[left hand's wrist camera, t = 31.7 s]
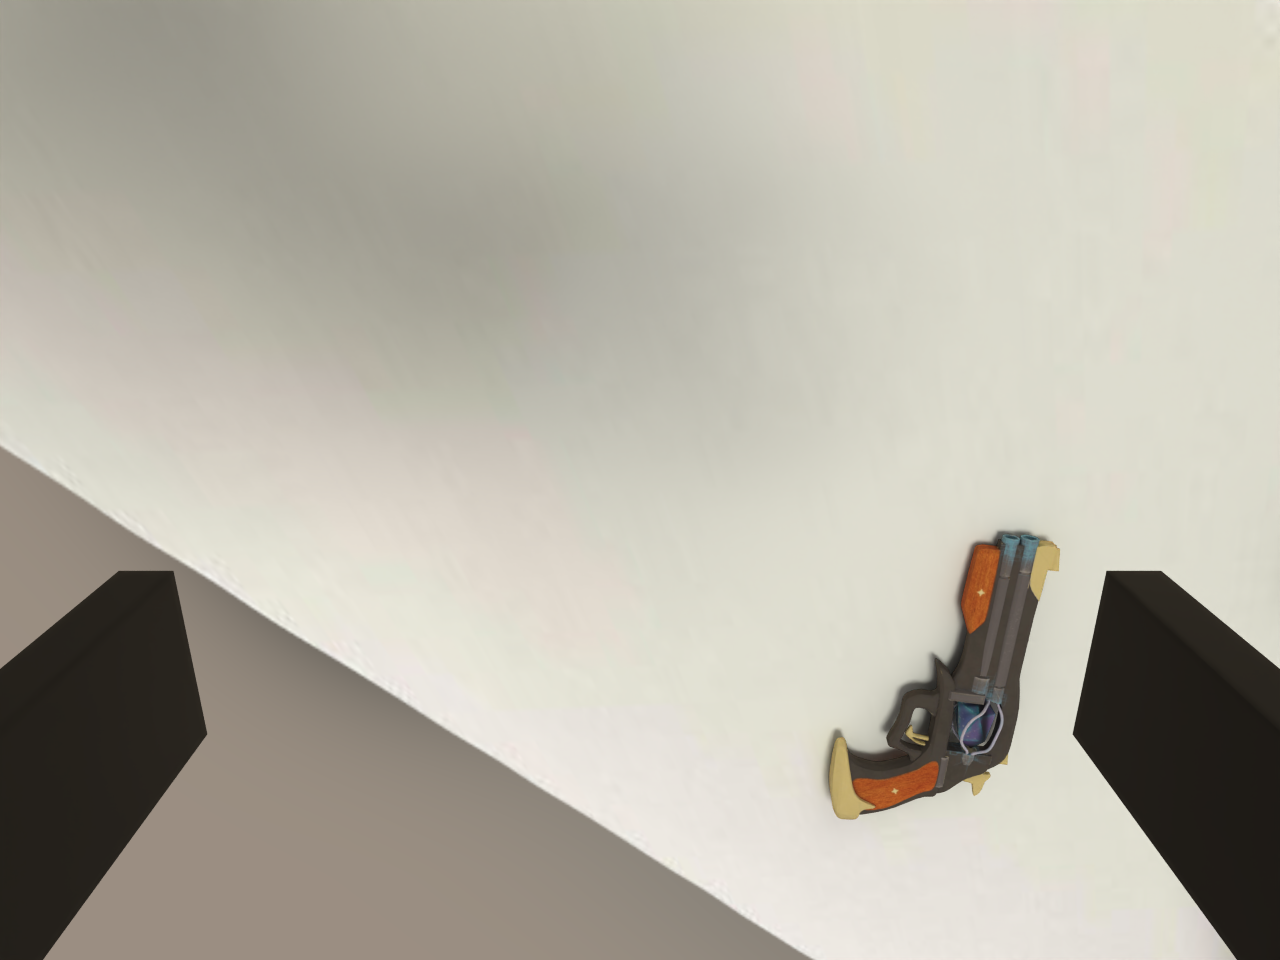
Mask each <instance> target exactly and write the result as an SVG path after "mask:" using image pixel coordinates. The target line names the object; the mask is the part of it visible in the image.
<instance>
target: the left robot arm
mask: <svg viewBox="0 0 1280 960" xmlns="http://www.w3.org/2000/svg"><path fill="white" fill-rule="evenodd" d="M206 735H207V731H206V726H205V721H204V716H203V711H202V707H201V702H200V697H199V692H198V687H197V682H196V678H195V673H194V668H193V663H192V658H191V653H190V649H189V644H188V639H187V634H186V629H185V625H184V620H183V615H182V610H181V605H180V600H179V596H178V591H177V586H176V581H175V576H174V572H173V571H118V572H117V573H116V574H115V575H113V576H112V577H111V578H110V579H109V580H107V581H106V582H105V583H104V584H103V585H101V586H100V587H99V588H98V589H96V590H95V591H94V592H93V593H92V594H90V595H89V596H88V597H87V598H86V599H84V600H83V601H82V602H81V603H80V604H78V605H77V606H76V607H75V608H74V609H72V610H71V611H70V612H69V613H67V614H66V615H65V616H64V617H63V618H61V619H60V620H59V621H58V622H57V623H55V624H54V625H53V626H52V627H50V628H49V629H48V630H47V631H46V632H45V633H43V634H42V635H41V636H40V637H38V638H37V639H36V640H35V641H34V642H32V643H31V644H30V645H29V646H27V647H26V648H25V649H24V650H23V651H21V652H20V653H19V654H18V655H17V656H15V657H14V658H13V659H12V660H11V661H9V662H8V663H7V664H6V665H4V666H3V667H2V668H1V669H0V960H43V959H44V958H45V956H46V955H47V953H48V952H49V951H50V949H51V948H52V947H53V945H54V944H55V942H56V941H57V940H58V938H59V937H60V936H61V934H62V933H63V931H64V930H65V929H66V927H67V926H68V925H69V923H70V922H71V920H72V919H73V918H74V916H75V915H76V914H77V912H78V911H79V909H80V908H81V907H82V905H83V904H84V903H85V901H86V900H87V899H88V897H89V896H90V894H91V893H92V892H93V890H94V889H95V888H96V886H97V885H98V883H99V882H100V881H101V879H102V878H103V876H104V875H105V874H106V872H107V871H108V870H109V868H110V867H111V866H112V864H113V863H114V862H115V860H116V859H117V857H118V856H119V855H120V853H121V852H122V851H123V849H124V848H125V846H126V845H127V844H128V842H129V841H130V840H131V838H132V837H133V835H134V834H135V833H136V831H137V830H138V829H139V827H140V826H141V824H142V823H143V822H144V820H145V819H146V818H147V816H148V815H149V813H150V812H151V811H152V809H153V808H154V807H155V805H156V804H157V802H158V801H159V800H160V798H161V797H162V796H163V794H164V793H165V792H166V790H167V789H168V787H169V786H170V785H171V783H172V782H173V780H174V779H175V778H176V776H177V775H178V774H179V772H180V771H181V770H182V768H183V767H184V765H185V764H186V763H187V761H188V760H189V759H190V757H191V756H192V754H193V753H194V752H195V750H196V749H197V748H198V746H199V745H200V744H201V742H202V741H203V739H204V738H205V737H206ZM1073 735H1074V737H1075V738H1076V739H1077V741H1078V742H1079V744H1080V745H1081V746H1082V748H1083V749H1084V750H1085V752H1086V753H1087V754H1088V756H1089V757H1090V759H1091V760H1092V761H1093V763H1094V764H1095V765H1096V767H1097V768H1098V770H1099V771H1100V772H1101V774H1102V775H1103V776H1104V778H1105V779H1106V781H1107V782H1108V783H1109V785H1110V786H1111V787H1112V789H1113V790H1114V792H1115V793H1116V794H1117V796H1118V797H1119V798H1120V800H1121V801H1122V803H1123V804H1124V805H1125V807H1126V808H1127V809H1128V811H1129V812H1130V813H1131V815H1132V816H1133V818H1134V819H1135V820H1136V822H1137V823H1138V824H1139V826H1140V827H1141V829H1142V830H1143V831H1144V833H1145V834H1146V835H1147V837H1148V838H1149V840H1150V841H1151V842H1152V844H1153V845H1154V846H1155V848H1156V849H1157V851H1158V852H1159V853H1160V855H1161V856H1162V857H1163V859H1164V860H1165V862H1166V863H1167V864H1168V866H1169V867H1170V868H1171V870H1172V871H1173V872H1174V874H1175V875H1176V877H1177V878H1178V879H1179V881H1180V882H1181V883H1182V885H1183V886H1184V888H1185V889H1186V890H1187V892H1188V893H1189V894H1190V896H1191V897H1192V899H1193V900H1194V901H1195V903H1196V904H1197V905H1198V907H1199V908H1200V910H1201V911H1202V912H1203V914H1204V915H1205V916H1206V918H1207V919H1208V921H1209V922H1210V923H1211V925H1212V926H1213V927H1214V929H1215V930H1216V931H1217V933H1218V934H1219V936H1220V937H1221V938H1222V940H1223V941H1224V942H1225V944H1226V945H1227V947H1228V948H1229V949H1230V951H1231V952H1232V953H1233V955H1234V956H1235V958H1236V959H1237V960H1280V669H1279V668H1278V667H1277V666H1276V665H1274V664H1273V663H1272V662H1271V661H1269V660H1268V659H1267V658H1266V657H1265V656H1263V655H1262V654H1261V653H1260V652H1259V651H1257V650H1256V649H1255V648H1254V647H1253V646H1251V645H1250V644H1249V643H1248V642H1246V641H1245V640H1244V639H1243V638H1242V637H1240V636H1239V635H1238V634H1237V633H1236V632H1234V631H1233V630H1232V629H1231V628H1230V627H1228V626H1227V625H1226V624H1225V623H1223V622H1222V621H1221V620H1220V619H1219V618H1217V617H1216V616H1215V615H1214V614H1213V613H1211V612H1210V611H1209V610H1208V609H1207V608H1205V607H1204V606H1203V605H1202V604H1200V603H1199V602H1198V601H1197V600H1196V599H1194V598H1193V597H1192V596H1191V595H1190V594H1188V593H1187V592H1186V591H1185V590H1184V589H1182V588H1181V587H1180V586H1179V585H1177V584H1176V583H1175V582H1174V581H1173V580H1171V579H1170V578H1169V577H1168V576H1167V575H1165V574H1164V573H1163V572H1162V571H1106V576H1105V581H1104V586H1103V591H1102V596H1101V600H1100V605H1099V610H1098V615H1097V620H1096V625H1095V629H1094V634H1093V639H1092V644H1091V649H1090V653H1089V658H1088V663H1087V668H1086V673H1085V678H1084V682H1083V687H1082V692H1081V697H1080V702H1079V706H1078V711H1077V716H1076V721H1075V726H1074V731H1073Z"/></svg>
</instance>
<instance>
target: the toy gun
mask: <svg viewBox="0 0 1280 960" xmlns="http://www.w3.org/2000/svg"><path fill="white" fill-rule="evenodd" d="M1059 556H1060V549H1059V548H1057V546H1056V545H1055V544H1054V543H1053V542H1051V541H1040V539H1039V538H1037V537H1035V536H1031V535H1021V536H1020V538H1019V537H1017V536H1014V535H1010V534H1004V535H1003V536H1002V539H998V544H997V546H993V545H984V544H981V545H977V546H976V547H975V549H974V553H973V557H972V561H971V564H970V568H969V572H968V576H967V580H966V584H965V588H964V592H963V596H962V600H961V607H962V611H963V615H964V619H965V623H966V627H967V635H966V639H965V644H964V648H963V652H962V656H961V659H960V661H959V663H958V665H957V667H956V669H955V670H954V672H953V673H952V674H950V672H949V670H948V669H947V667H946V666H945V665H944V664H943V663H942V662H941V661H940V660H938V659H937V658H936V659H935V663H936V669H937V688H936V689H934V690H931V691H930V690H924V689H916V690H912V691H910V692H907V693H906V694H905V695H904V696H903V699H902V704H901V708H900V712H899V715H898V717H897V719H896V721H895V723H894V725H893V726H892V728H891V730H890V731H889V733H888V735H887V737H886V739H887V742H888V745H889V746H890V747H893V748H896V749H899V750H902V751H904V752H906V753H908V755H906V756H903V757H900V758H895V759H891V760H886V761H881V762H874V761H869V760H865V759H862V758H859V757H856V756H854V755H852V754H851V753H850V752H849V751H848V750H847V744H846V741H845V739H844V738H843V737H840V738H837V740H836V741H835V744H834V749H833V753H832V759H831V765H830V773H829V784H830V793H831V799H832V806H833V810H834V812H835V814H836V816H837V817H838V818H840V819H856V818H857V817H858V816H859V815H860V814H868V813H874V812H879V811H883V810H887V809H891V808H894V807H897V806H899V805H902V804H904V803H907V802H909V801H912V800H915V799H917V798H921V797H933V796H935V795H936V793H941V792H945V791H947V790H949V789H950V788H952V787H953V786H955V785H956V784H958V783H959V782H961V781H965V782H970V783H971V784H972V792H973V795H974V796H975V795H977V794H978V793H979V792H980V791H981V789H982V787H983V785H984V782H985V781H986V780H988V779H989V778H990V773H989V772H986V771H987V769H990V768H992V767H994V766H996V765H998V764H1005V765H1007V761H1008V752H1009V749H1010V746H1011V742H1012V738H1013V734H1014V730H1015V725H1016V721H1017V716H1018V710H1019V698H1020V682H1019V679H1020V673H1021V669H1022V664H1023V660H1024V656H1025V652H1026V648H1027V643H1028V639H1029V635H1030V631H1031V627H1032V623H1033V618H1034V615H1035V611H1036V608H1037V604H1038V601H1039V600H1040V596H1041V593H1042V589H1043V585H1044V581H1045V578H1046V574H1047V570H1052V571H1059ZM987 699H988V700H987ZM954 701H958V703H956V704H955V705H954ZM990 701H992V702H994V703H997V707H998V715H997V719H996V723H995V728H994V730H993V733H992V735H991V737H990V739H989V741H988V742H987V743H986V744H985V745H984V746H978V745H979V744H981V743H983V742H985V740H986V738H987V735H988V733H989V731H990V728H991V726H992V723H993V721H994V718H995V715H996V714H995V712H994V711H993V709H992V707H991V705H990ZM915 708H924V709H926V710H928V711H929V712H930V713H931V714H932V715H931V720H930V725H929V729H928V734H927V736H925V735H920V734H915V733H913V729H912V725H910V726H909V727H908V725H909V723H910V720H911V717H912V714H913V711H914V709H915ZM955 708H956V710H955V713H956V721H957V730H958V734H957V733H956V731H955V729H954V725H953V713H954V709H955ZM907 727H908V728H907ZM951 727H952V730H953V733H954V734H955V736H956V737H957V738H958V739H959V741H960V742H959V743H956V742H949V741H948V740H949V736H950V731H951ZM906 728H907V729H906ZM905 730H906V731H905ZM904 732H905V734H906V735H907V736H908V737H909V738H910V739H911V740H912V741H914V742H915V743H918V744H920V745H915V744H910V743H907V742H905V741H903V740H902V739H901V738H902V736H903V734H904ZM913 737H915V738H918V739H923V740H924V742H923V741H919V740H916V739H914V738H913Z"/></svg>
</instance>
